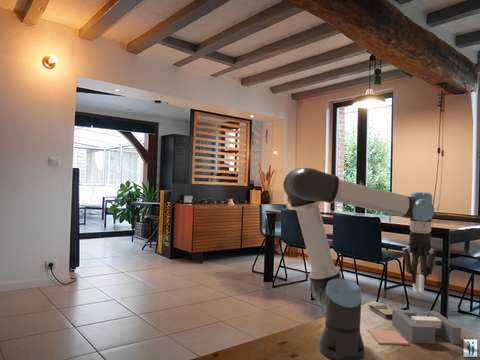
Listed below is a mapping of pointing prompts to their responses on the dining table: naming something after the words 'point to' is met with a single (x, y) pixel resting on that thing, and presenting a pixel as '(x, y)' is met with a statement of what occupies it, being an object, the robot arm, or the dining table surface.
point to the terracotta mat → (388, 337)
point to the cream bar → (427, 320)
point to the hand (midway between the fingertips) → (418, 291)
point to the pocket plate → (425, 327)
